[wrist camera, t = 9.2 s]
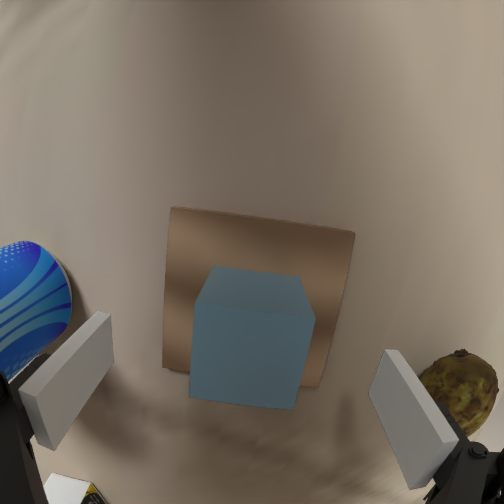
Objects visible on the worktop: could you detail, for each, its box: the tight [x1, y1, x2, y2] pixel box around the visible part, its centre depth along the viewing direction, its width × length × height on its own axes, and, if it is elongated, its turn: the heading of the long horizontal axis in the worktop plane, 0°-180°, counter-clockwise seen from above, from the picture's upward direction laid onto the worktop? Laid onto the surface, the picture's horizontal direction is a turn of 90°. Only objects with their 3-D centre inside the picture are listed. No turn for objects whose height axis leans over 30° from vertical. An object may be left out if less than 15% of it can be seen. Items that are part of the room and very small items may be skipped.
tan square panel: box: [162, 207, 355, 387], centre depth 19 cm, size 12×12×6 cm
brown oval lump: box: [419, 349, 499, 437], centre depth 20 cm, size 8×13×8 cm, turn 173°
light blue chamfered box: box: [189, 265, 316, 410], centre depth 18 cm, size 6×6×7 cm
